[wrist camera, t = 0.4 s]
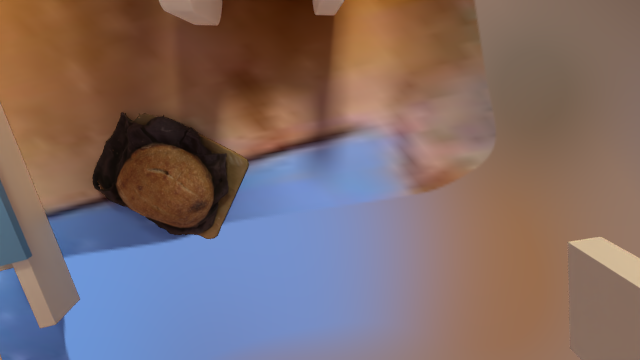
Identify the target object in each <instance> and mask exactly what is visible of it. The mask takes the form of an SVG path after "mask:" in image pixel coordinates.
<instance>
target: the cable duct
mask: <svg viewBox="0 0 640 360" xmlns="http://www.w3.org/2000/svg"><path fill="white" fill-rule="evenodd" d="M10 268H14V269H15V272H16V274H17V276H18V279H19V281H20V283H21V286H22V288H23V290H24V292H25V295H26V297H27V299H28V302H29V304H30V306H31V309H32V311H33V313H34V315H35V318H36V320H37V322H38V325H39V327H40V328H44V327H48V326H52V325H56V324H57V323H58V322H59V321H60V320H61V319H62V318H63V317H64V315H65V314H66V313H67V312H68V311H69V310H70V309H71V308H72V307H73V306H74V305H75V304H76V303H77V302H78V301H79V300H80V298H79V295H78V293H77V291H76V288H75V285H74V283H73V280H72V278H71V276H70V273H69V271H68V268H67V266H66V263H65V261H64V258H63V256H62V253H61V251H60V248H59V246H58V243H57V241H56V239H55V236H54V234H53V231H52V229H51V226H50V224H49V221H48V219H47V216H46V214H45V211H44V209H43V207H42V204H41V202H40V199H39V197H38V194H37V192H36V189H35V187H34V184H33V182H32V180H31V177H30V175H29V172H28V170H27V167H26V165H25V162H24V160H23V157H22V155H21V152H20V150H19V148H18V145H17V143H16V140H15V138H14V135H13V133H12V130H11V128H10V125H9V123H8V120H7V118H6V116H5V113H4V111H3V108H2V106H1V103H0V271H2V270H6V269H10Z"/></svg>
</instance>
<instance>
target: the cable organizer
mask: <svg viewBox="0 0 640 360" xmlns="http://www.w3.org/2000/svg"><path fill="white" fill-rule="evenodd" d="M343 2H344V0H313V9H314V13H315V15H335V14H336V12H337V11H338V9H339V8H340V6H341V5H342V3H343ZM159 3H160V5H161V7H162V8H163V10H164V11H166V12H168V13H170V14H172V15H175V16H177V17H179V18H181V19H183V20H185V21H187V22H190V23H192V24H194V25H218V24H219V22H220V19H221V13H222V0H159Z"/></svg>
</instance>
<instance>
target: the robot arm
mask: <svg viewBox="0 0 640 360" xmlns="http://www.w3.org/2000/svg"><path fill="white" fill-rule="evenodd" d="M568 277H569V321H570V349H571V350H572V351H573V352H574V353H575V354H576V355H577V356H578V357H579V358H580V359H581V360H640V258H638V257H636V256H634V255H633V254H631V253H629V252H627V251H625V250H624V249H622V248H620V247H618V246H616V245H615V244H613V243H611V242H609V241H607V240H606V239H604V238H602V237H597V238H591V239H584V240H577V241H572V242H568ZM0 360H2V358H1V355H0Z"/></svg>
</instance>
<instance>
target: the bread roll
mask: <svg viewBox="0 0 640 360" xmlns="http://www.w3.org/2000/svg"><path fill="white" fill-rule="evenodd" d="M138 117H140V118H138ZM138 117H137V118H136V119H135V120H134V121H132V120H130V119H129V118H128V117H127V116H126V113H125V114H124V113H123V112H122V113H121V117H120V119H119V122H118V124H117V127H116V129H115V131H114V133H113V135H112V136H111V138H110V139H109V140H108V141H106V144H105V146H104V150H103V153H102V155H101V156H100V158H99V160H98V162H97V165H96V167H95V171H94V174H93V185H94V187H95V189H97V190H99V191H101V193H102V194H104V195H105V196H106V197H107V198H108V199H109V200H111V201H112V202H115V203H117V204H119V205H122V206H126V207H128V208H130V209H131V210H133V211H135V212H137V213H139V214H141V215H142V216H145V217H146V218H147V219H149V220H151V221H153V222H154V223H155V224H157V225H158V227H160V228H163V229H166V230H167V231H168V232H169V233H170V234H174V235H181V234H185V235H187V234H194V235H200V236H202V237H204V238H206V239H211V238H215V237H217V236H218V233H219V231H220V229H221V226H222V223H223V221H224V219H225V217H226V215H227V212H228V210H229V208H230V207H231V204H232V201H233V199H234V197H235V195H236V193H237V190H238V188H239V186H240V184H241V182H242V179H243V177H244V175H245V172H246V171H247V168H248V166H249V162H248V160H247V159H245V158H244V157H242V156H241V155H239V154H237V153H236V152H234V151H232V150H230V149H228V148H226V147H224V146H222V145H221V144H218V143H216V142H214V141H213V140H211V139H209V138H206V137H205V136H203V135H201V134H198V133H197V132H196V131H195V130H194V129H192V128H189V127H187V126H185V125H183V124H181V123H180V122H177V121H175V120H172V119H169V118H166V117H164V116H162V117H156V116H153V115H149V114H146V113H145V114H142V115H140V114H139V116H138ZM97 181H98V182H97ZM99 183H100V184H99ZM98 185H100V186H101V189H100V187H99V186H98Z"/></svg>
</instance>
